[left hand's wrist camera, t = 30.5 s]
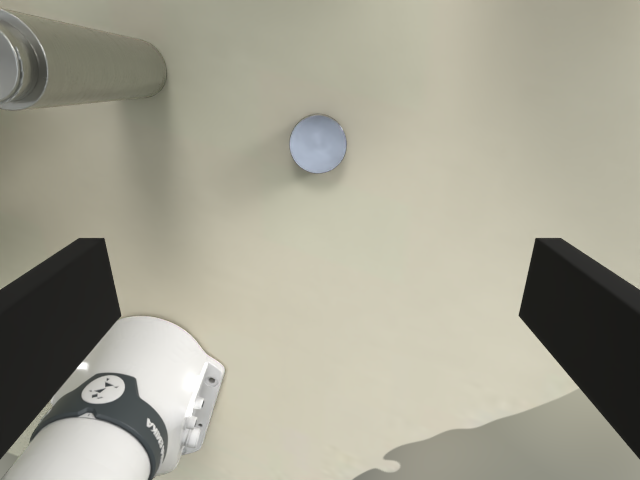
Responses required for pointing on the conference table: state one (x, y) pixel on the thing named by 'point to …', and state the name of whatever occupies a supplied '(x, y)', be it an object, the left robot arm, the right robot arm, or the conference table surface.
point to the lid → (318, 143)
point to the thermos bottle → (71, 64)
